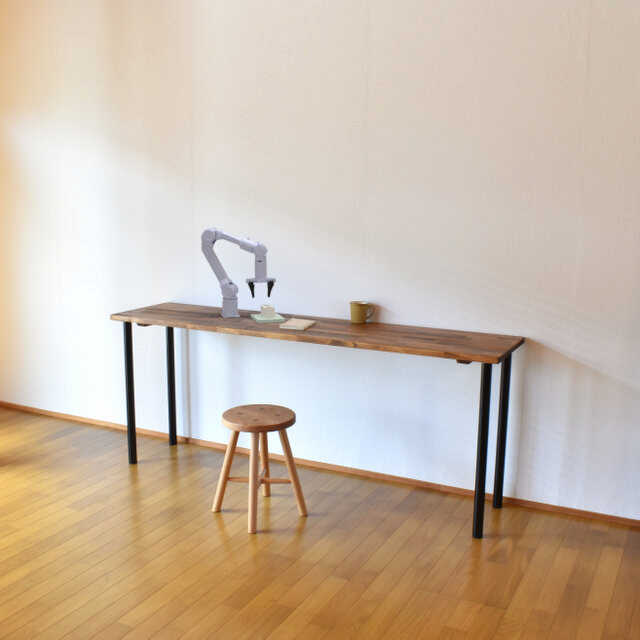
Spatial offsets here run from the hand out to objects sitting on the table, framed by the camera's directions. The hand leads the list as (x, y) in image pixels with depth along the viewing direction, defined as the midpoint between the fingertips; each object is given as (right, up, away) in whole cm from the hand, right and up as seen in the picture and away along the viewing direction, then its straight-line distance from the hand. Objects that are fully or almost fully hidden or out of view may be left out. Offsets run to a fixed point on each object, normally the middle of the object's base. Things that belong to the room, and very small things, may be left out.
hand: (261, 297), depth 380 cm
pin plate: (+4, -11, -6) cm, 13 cm away
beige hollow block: (+4, -9, -7) cm, 12 cm away
